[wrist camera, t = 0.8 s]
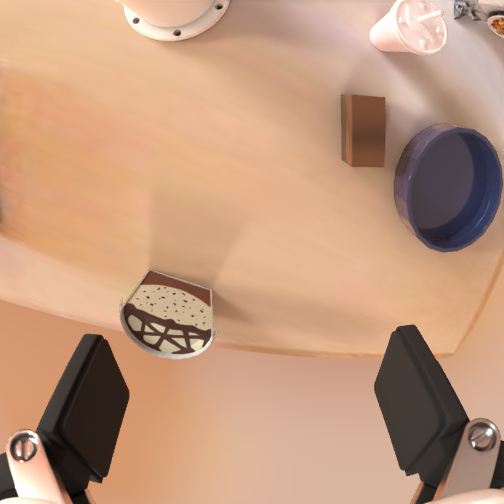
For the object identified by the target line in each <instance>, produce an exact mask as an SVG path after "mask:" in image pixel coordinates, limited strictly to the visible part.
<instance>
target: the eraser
mask: <svg viewBox="0 0 504 504" xmlns="http://www.w3.org/2000/svg"><path fill="white" fill-rule="evenodd" d="M341 123H342V160H343V161H344V162H346V163H347V164H349V165H350V166H352V167H384V156H385V97H374V96H360V95H341Z"/></svg>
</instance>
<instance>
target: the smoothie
mask: <svg viewBox="0 0 504 504" xmlns="http://www.w3.org/2000/svg"><path fill="white" fill-rule="evenodd" d="M445 15H446V12H445V11H444V10H439V11H438V10H437V9H436V8H435V7H434V6H433V5H432V4H430V3H429V2H427V1H426V0H398V1H397V2H396V3H395V4H394V5H393V6H392V9H391V11H390V12H389V13H388V14H387V15H386V16H384V17H383V18H382V19H381V20H380V21H379V22H378V23H377V24H376V25H375V26H374V27H373V28H372V29H371V31H370V39H371V42H372V43H373V45H374V46H375V47H376V48H378V49H379V50H382V51H392V52H413V53H416V54H418V55H424V56H428V55H433V54H436V53H438V52H440V51H441V50H442V49H443V48H444V47H445V45H446V43H447V39H448V31H447V26H446V23H445V21H444V19H443V17H442V16H445Z"/></svg>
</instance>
